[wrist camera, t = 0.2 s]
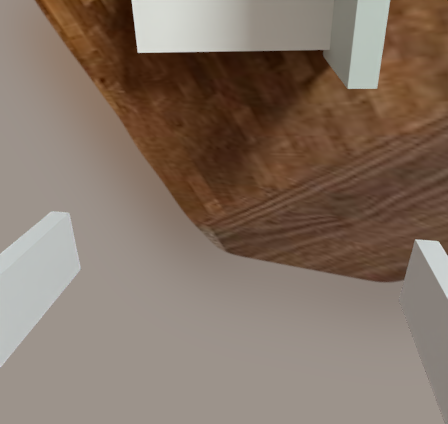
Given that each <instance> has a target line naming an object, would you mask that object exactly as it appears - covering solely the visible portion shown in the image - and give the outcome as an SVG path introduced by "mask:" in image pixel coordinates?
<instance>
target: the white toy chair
mask: <svg viewBox="0 0 448 424" xmlns="http://www.w3.org/2000/svg"><path fill="white" fill-rule="evenodd" d="M389 4H390V0H132V9H133V17H134V26H135V34H136V43H137V51H138V53H160V52H224V51H288V50H324V51H323V57H324V58H325V59H326V61H327V62H328V63H329V65H330V66H331V67H332V69H333V70H334V71H335V73H336V74H337V75H338V77H339V78H340V79H341V81H342V82H343V83H344V84H345V86H346V87H347V88H348V89H377V85H378V78H379V72H380V65H381V58H382V51H383V45H384V38H385V31H386V25H387V18H388V11H389Z"/></svg>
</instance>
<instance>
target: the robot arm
mask: <svg viewBox="0 0 448 424" xmlns="http://www.w3.org/2000/svg"><path fill="white" fill-rule="evenodd" d="M80 269H81V267H80V263H79V258H78V253H77V248H76V243H75V238H74V234H73V229H72V224H71V219H70V214H69V213H66V212H53V211H51V212H50V213H49V214H48V215H46V216H45V217H44V218H43V219H42V220H40V221H39V222H38V223H37V224H36V225H34V226H33V227H32V228H31V229H30V230H28V231H27V232H26V233H25V234H24V235H22V236H21V237H20V238H19V239H18V240H17V241H15V242H14V243H13V244H12V245H10V246H9V247H8V248H7V249H6V250H4V251H3V252H2V253H1V254H0V367H1V366H2V365H3V364H4V362H5V361H6V360H7V359H8V358H9V356H10V355H11V354H12V353H13V351H14V350H15V349H16V348H17V347H18V345H19V344H20V343H21V342H22V340H23V339H24V338H25V337H26V336H27V334H28V333H29V332H30V331H31V329H32V328H33V327H34V326H35V324H36V323H37V322H38V321H39V320H40V319H41V317H42V316H43V315H44V314H45V312H46V311H47V310H48V308H49V307H50V306H51V305H52V304H53V302H54V301H55V300H56V299H57V298H58V297H59V295H60V294H61V293H62V292H63V290H64V289H65V288H66V287H67V285H68V284H69V283H70V282H71V281H72V279H73V278H74V277H75V276H76V275H77V273H78V272H79V271H80ZM399 302H400V305H401V307H402V310H403V313H404V315H405V318H406V321H407V323H408V326H409V329H410V331H411V334H412V337H413V339H414V342H415V345H416V347H417V350H418V353H419V355H420V358H421V361H422V364H423V366H424V369H425V372H426V374H427V377H428V379H429V382H430V385H431V388H432V390H433V393H434V395H435V398H436V401H437V404H438V406H439V409H440V412H441V414H442V417H443V420H444V422H445V424H448V256H447V254H446V253H445V251H444V249H443V248H442V246H441V245H440V243H439V242H438V241H429V240H416V239H415V242H414V246H413V250H412V253H411V257H410V261H409V265H408V268H407V272H406V276H405V279H404V283H403V287H402V291H401V294H400V298H399Z"/></svg>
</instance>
